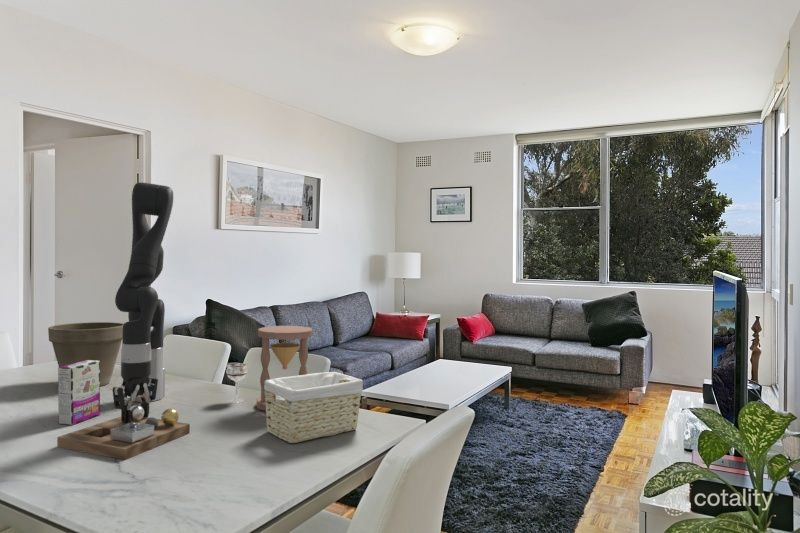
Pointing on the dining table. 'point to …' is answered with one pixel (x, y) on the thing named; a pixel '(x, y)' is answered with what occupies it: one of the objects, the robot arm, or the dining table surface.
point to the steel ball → (136, 413)
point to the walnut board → (101, 444)
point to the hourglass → (282, 351)
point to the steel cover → (132, 432)
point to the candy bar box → (79, 391)
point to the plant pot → (88, 344)
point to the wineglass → (236, 376)
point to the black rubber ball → (152, 421)
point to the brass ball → (170, 417)
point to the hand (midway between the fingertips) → (135, 419)
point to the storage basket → (312, 405)
